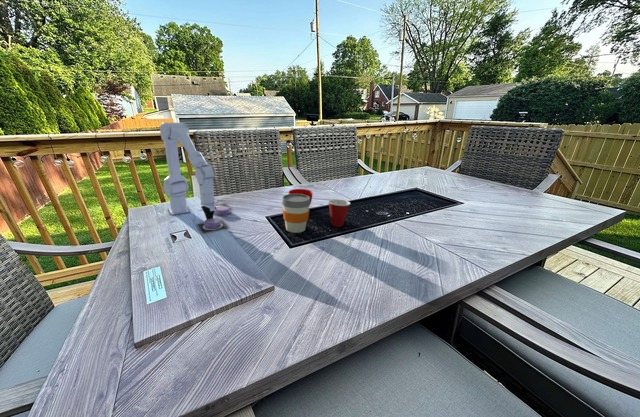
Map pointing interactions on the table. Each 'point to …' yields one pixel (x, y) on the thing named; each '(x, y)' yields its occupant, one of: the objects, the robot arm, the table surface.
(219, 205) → the pad
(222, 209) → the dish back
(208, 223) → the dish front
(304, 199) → the reusable coffee cup
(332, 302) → the table surface
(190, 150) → the robot arm
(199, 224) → the pad
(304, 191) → the ceramic cup
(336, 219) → the plastic cup
